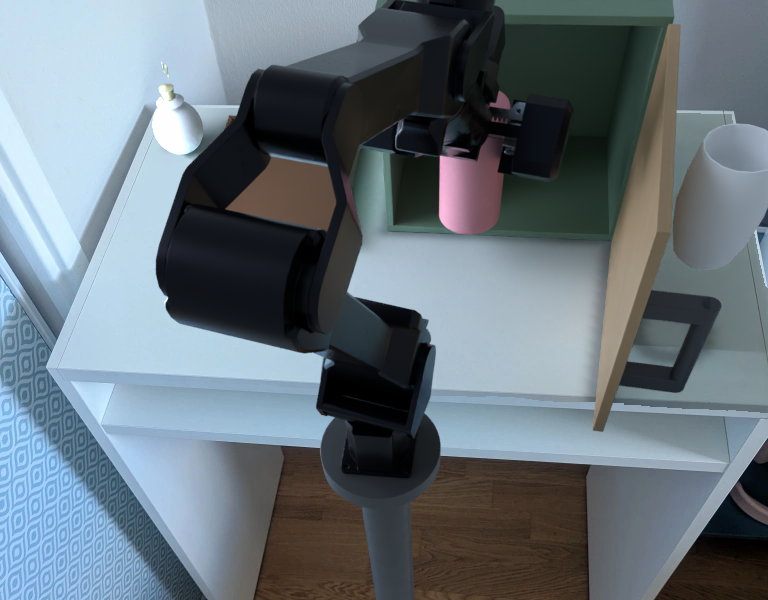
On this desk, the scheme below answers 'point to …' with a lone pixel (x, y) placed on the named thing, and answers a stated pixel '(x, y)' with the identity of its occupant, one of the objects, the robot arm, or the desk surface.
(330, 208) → the tray
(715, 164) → the cup
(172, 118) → the ornament
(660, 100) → the cupboard door
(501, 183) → the cylindrical container
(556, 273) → the desk surface
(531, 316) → the desk surface
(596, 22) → the cupboard
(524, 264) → the desk surface
